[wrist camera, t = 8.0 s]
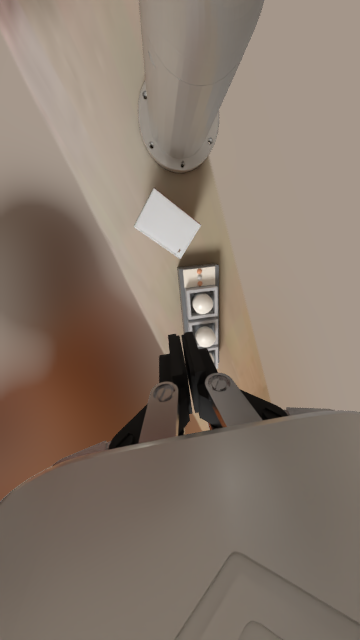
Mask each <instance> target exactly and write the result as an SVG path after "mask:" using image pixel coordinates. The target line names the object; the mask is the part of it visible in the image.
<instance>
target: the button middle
mask: <svg viewBox="0 0 360 640" xmlns="http://www.w3.org/2000/svg"><path fill="white" fill-rule="evenodd" d="M195 337H196V340H197V343H198V344H199V345H200V346H201V347H210V346H212V345H213V344H214V343H215V341H216V335H215V334H214V332H213V330H212V329H211V328H210V327H207V326H203V327H200V328H199V329H198V330H197V331H196V333H195Z"/></svg>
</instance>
